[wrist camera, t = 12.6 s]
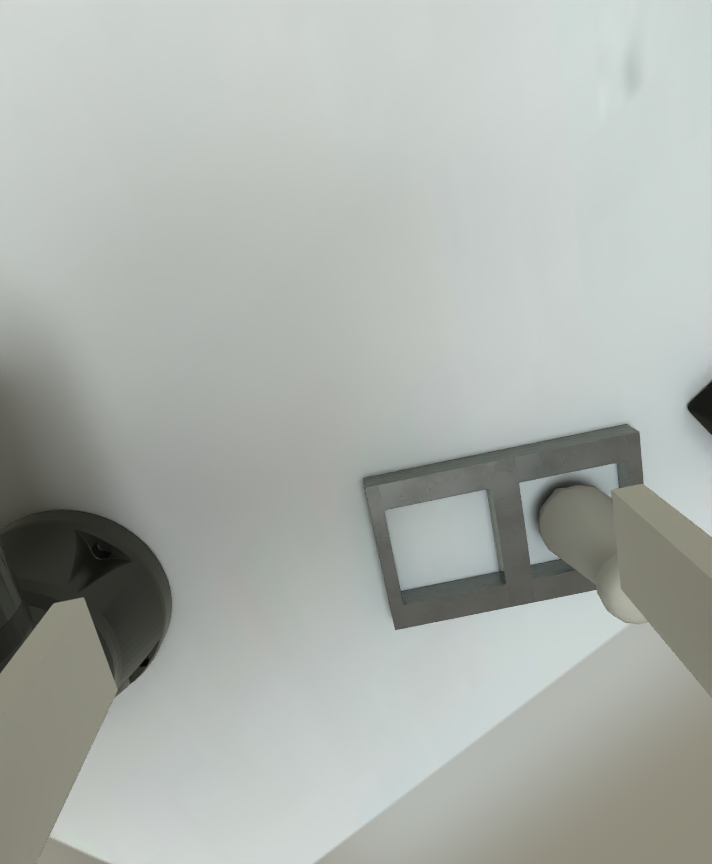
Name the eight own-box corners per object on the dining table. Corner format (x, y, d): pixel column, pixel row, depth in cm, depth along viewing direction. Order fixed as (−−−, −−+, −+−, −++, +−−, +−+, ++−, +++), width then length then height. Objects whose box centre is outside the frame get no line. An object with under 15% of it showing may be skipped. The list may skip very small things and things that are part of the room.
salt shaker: (616, 522, 51) (709, 613, 38) (550, 557, 51) (621, 658, 39) (585, 461, 49) (671, 536, 37) (517, 498, 50) (580, 584, 37)
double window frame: (392, 615, 52) (395, 630, 50) (363, 478, 49) (364, 487, 47) (639, 566, 52) (651, 578, 50) (627, 424, 49) (639, 431, 47)
